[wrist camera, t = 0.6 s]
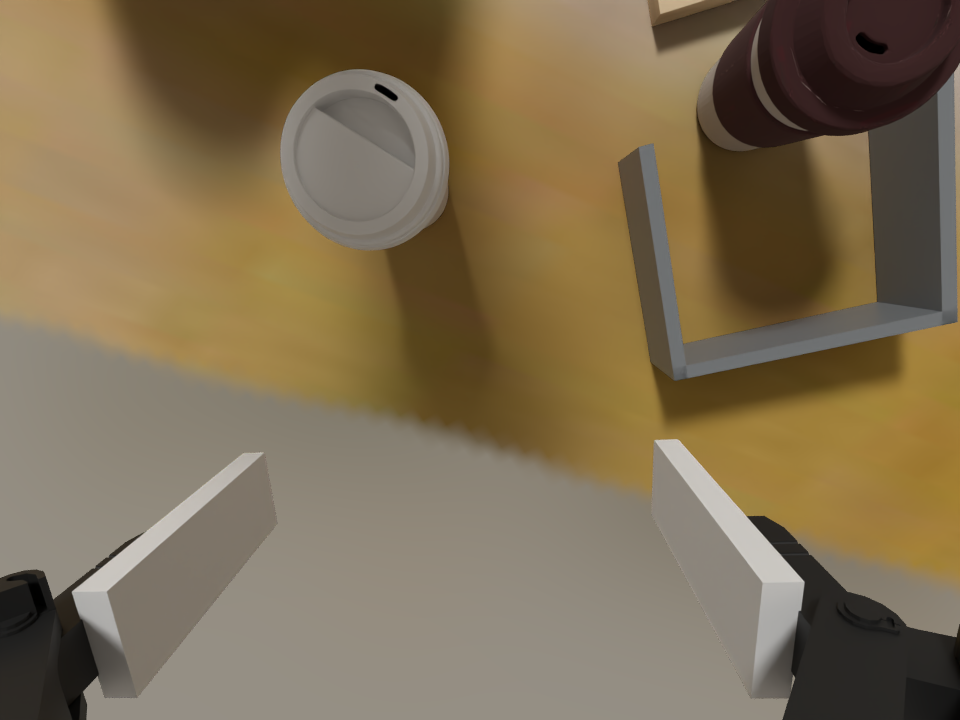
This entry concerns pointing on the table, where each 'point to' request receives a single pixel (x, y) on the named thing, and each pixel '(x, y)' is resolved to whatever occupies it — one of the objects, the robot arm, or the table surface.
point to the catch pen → (897, 237)
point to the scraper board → (679, 8)
